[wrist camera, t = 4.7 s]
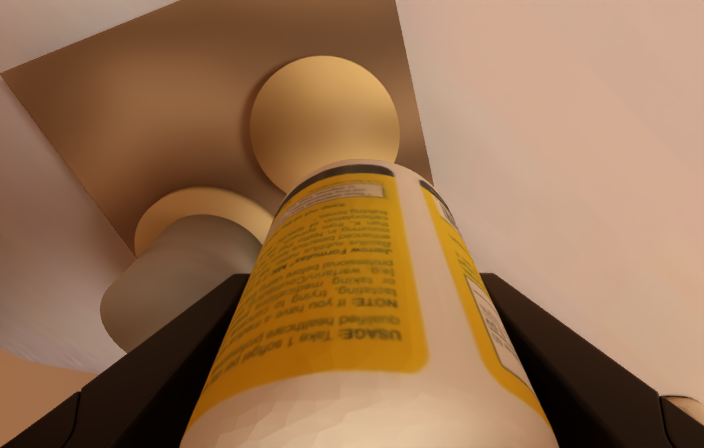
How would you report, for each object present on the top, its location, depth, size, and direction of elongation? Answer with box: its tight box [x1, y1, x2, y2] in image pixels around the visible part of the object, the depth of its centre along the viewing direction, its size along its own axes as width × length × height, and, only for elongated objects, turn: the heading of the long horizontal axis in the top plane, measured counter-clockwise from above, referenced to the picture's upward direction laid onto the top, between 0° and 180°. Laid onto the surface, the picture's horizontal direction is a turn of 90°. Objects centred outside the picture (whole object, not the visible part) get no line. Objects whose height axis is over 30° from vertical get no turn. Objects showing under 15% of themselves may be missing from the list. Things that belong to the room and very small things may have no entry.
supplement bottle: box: [179, 159, 559, 448], centre depth 6 cm, size 5×5×8 cm
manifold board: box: [0, 0, 434, 353], centre depth 17 cm, size 18×18×7 cm
